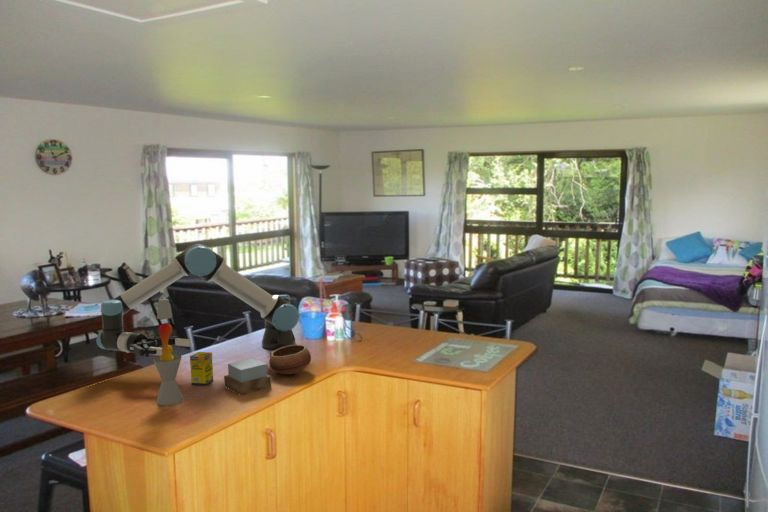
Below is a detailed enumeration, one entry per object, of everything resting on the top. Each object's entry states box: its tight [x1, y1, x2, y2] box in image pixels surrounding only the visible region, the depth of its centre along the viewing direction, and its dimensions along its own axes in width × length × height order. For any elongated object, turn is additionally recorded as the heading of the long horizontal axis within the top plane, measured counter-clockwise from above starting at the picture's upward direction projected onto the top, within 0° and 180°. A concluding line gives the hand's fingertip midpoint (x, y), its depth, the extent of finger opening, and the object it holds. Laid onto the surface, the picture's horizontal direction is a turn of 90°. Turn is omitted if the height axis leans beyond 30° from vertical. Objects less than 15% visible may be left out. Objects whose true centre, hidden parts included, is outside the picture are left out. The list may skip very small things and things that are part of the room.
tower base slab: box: [223, 374, 272, 396], centre depth 212 cm, size 12×12×4 cm
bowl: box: [269, 344, 312, 376], centre depth 227 cm, size 16×16×10 cm
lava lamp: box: [152, 298, 184, 406], centre depth 198 cm, size 9×9×35 cm
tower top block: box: [227, 357, 268, 383], centre depth 211 cm, size 10×10×4 cm
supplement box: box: [189, 351, 214, 386], centre depth 217 cm, size 6×6×11 cm
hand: (177, 347), depth 219 cm, fingers open, 13 cm apart
